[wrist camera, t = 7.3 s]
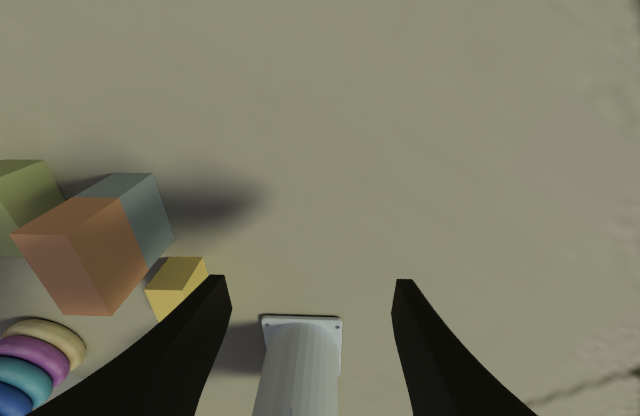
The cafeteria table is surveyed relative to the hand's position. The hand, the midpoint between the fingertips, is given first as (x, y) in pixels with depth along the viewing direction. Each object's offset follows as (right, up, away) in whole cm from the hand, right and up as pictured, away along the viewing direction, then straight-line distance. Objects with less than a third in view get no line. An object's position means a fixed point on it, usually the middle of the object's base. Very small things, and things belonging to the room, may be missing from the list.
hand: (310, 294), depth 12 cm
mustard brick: (-11, -3, +15) cm, 19 cm away
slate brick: (-13, +4, +11) cm, 18 cm away
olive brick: (-21, +5, +11) cm, 24 cm away
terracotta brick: (-14, +2, +7) cm, 15 cm away
